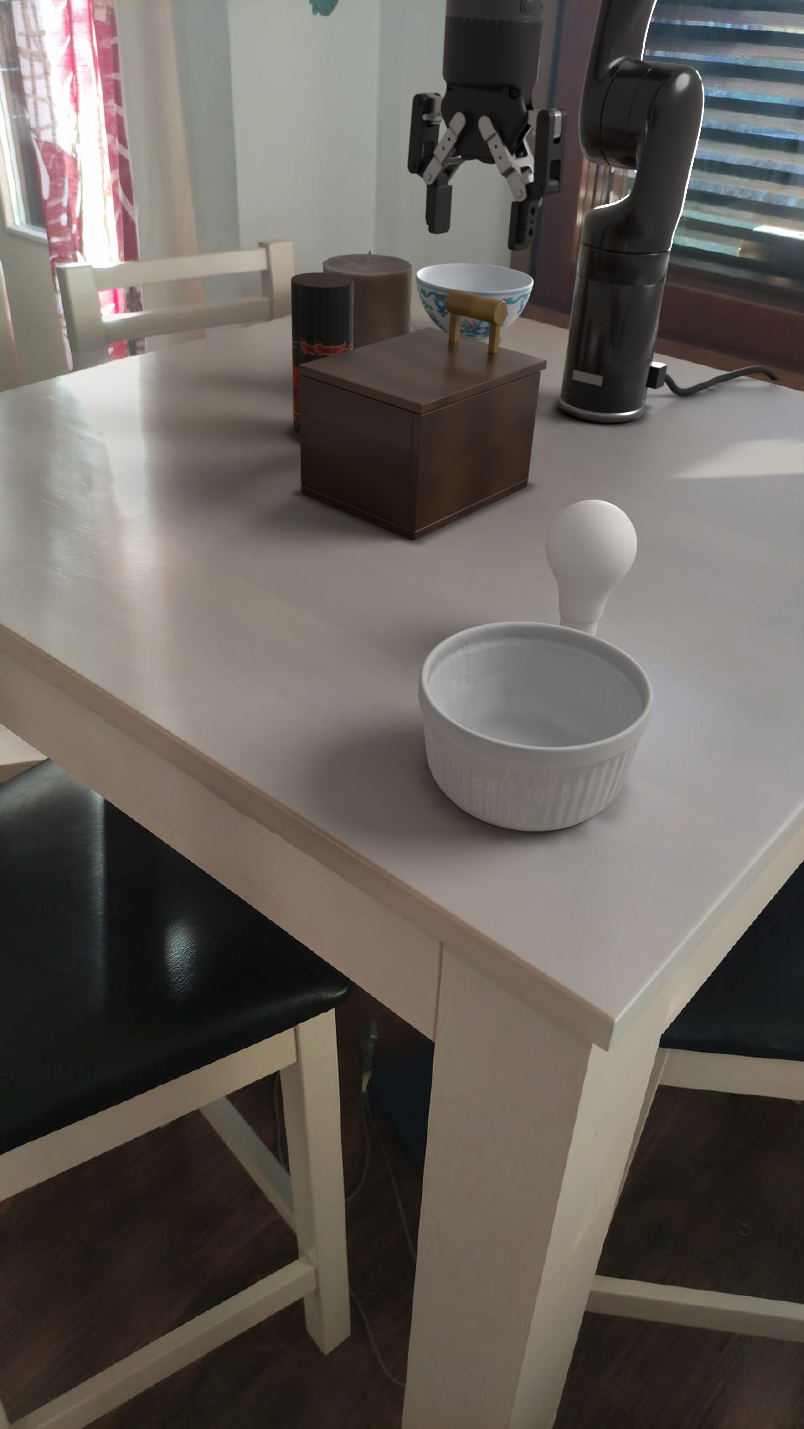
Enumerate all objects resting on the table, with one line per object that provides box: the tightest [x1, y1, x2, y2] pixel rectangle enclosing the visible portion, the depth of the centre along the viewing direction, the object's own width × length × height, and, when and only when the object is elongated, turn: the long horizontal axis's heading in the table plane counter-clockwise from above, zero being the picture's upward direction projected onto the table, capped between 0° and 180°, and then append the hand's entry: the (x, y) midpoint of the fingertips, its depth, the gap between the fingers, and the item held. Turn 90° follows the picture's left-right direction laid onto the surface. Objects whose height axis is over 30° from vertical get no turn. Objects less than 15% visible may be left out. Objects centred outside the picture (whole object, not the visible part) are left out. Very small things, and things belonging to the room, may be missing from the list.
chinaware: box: [415, 262, 534, 344], centre depth 137 cm, size 15×15×8 cm
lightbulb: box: [545, 499, 638, 636], centre depth 73 cm, size 6×6×11 cm
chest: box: [299, 371, 542, 541], centre depth 95 cm, size 17×14×11 cm
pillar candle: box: [322, 250, 413, 349], centre depth 115 cm, size 10×10×15 cm
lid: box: [299, 289, 548, 414], centre depth 90 cm, size 17×14×5 cm
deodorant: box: [290, 271, 354, 440], centre depth 104 cm, size 6×6×15 cm
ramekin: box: [417, 620, 655, 832], centre depth 61 cm, size 13×13×7 cm
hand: (477, 241), depth 90 cm, fingers open, 8 cm apart
